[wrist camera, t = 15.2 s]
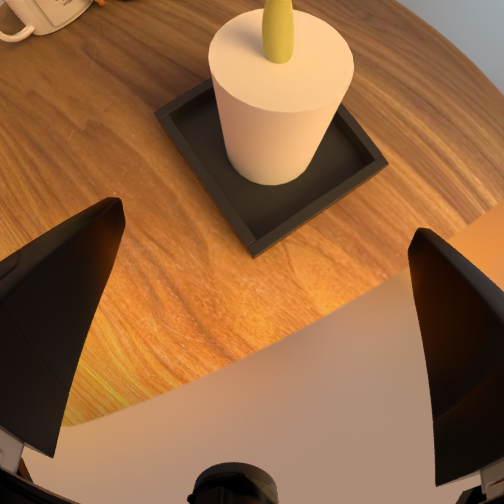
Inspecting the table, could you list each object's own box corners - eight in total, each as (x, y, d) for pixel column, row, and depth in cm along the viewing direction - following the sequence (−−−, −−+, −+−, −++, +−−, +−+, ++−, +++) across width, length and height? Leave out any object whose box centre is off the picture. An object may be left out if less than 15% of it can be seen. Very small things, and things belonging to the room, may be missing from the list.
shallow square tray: (377, 174, 23) (389, 163, 21) (253, 259, 23) (253, 257, 20) (281, 59, 24) (283, 41, 21) (162, 126, 23) (153, 112, 21)
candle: (326, 125, 22) (400, -28, 7) (292, 200, 22) (362, 72, 7) (249, 93, 23) (248, -75, 8) (210, 163, 22) (155, 7, 7)
